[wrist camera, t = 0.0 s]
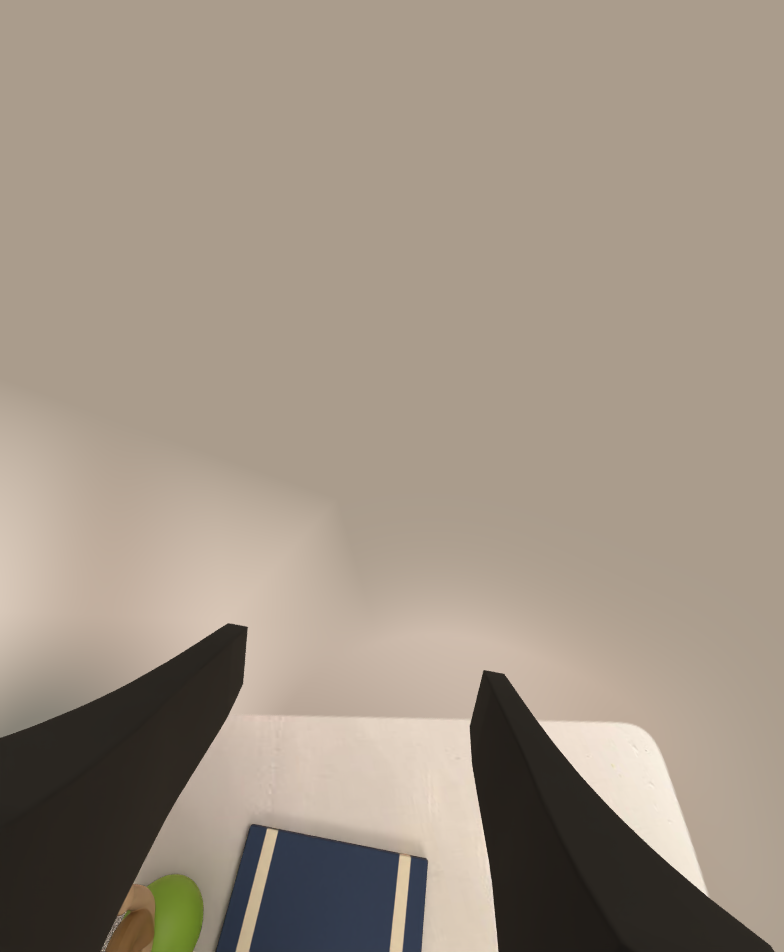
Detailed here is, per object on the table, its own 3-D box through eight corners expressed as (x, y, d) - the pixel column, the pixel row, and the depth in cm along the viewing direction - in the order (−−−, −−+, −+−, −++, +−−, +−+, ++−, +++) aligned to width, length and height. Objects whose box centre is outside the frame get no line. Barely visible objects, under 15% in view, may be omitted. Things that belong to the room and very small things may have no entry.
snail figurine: (218, 845, 33) (160, 881, 23) (206, 962, 29) (131, 1065, 19) (149, 856, 32) (58, 898, 22) (127, 977, 28) (8, 1092, 19)
